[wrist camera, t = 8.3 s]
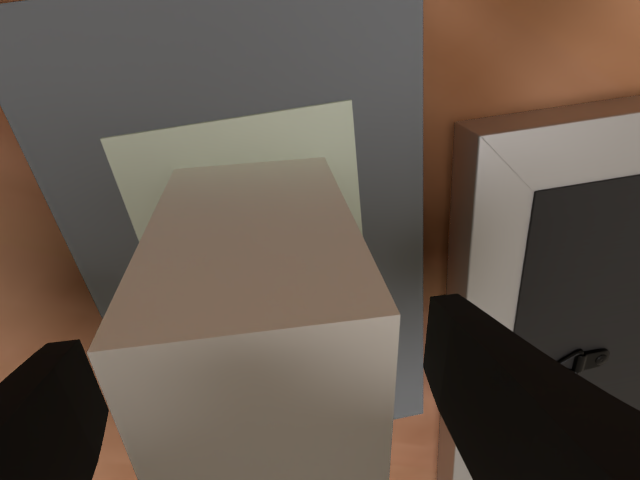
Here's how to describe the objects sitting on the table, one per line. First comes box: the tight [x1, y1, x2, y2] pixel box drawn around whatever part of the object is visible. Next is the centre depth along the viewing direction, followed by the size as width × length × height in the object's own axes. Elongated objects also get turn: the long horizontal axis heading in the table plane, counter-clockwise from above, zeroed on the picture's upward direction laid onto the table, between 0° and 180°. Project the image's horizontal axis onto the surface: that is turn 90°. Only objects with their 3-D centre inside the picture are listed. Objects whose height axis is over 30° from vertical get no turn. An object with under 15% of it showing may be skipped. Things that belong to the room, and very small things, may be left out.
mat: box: [0, 0, 423, 420], centre depth 12 cm, size 14×9×1 cm, turn 7°
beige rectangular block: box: [87, 157, 400, 480], centre depth 9 cm, size 4×6×6 cm, turn 2°
